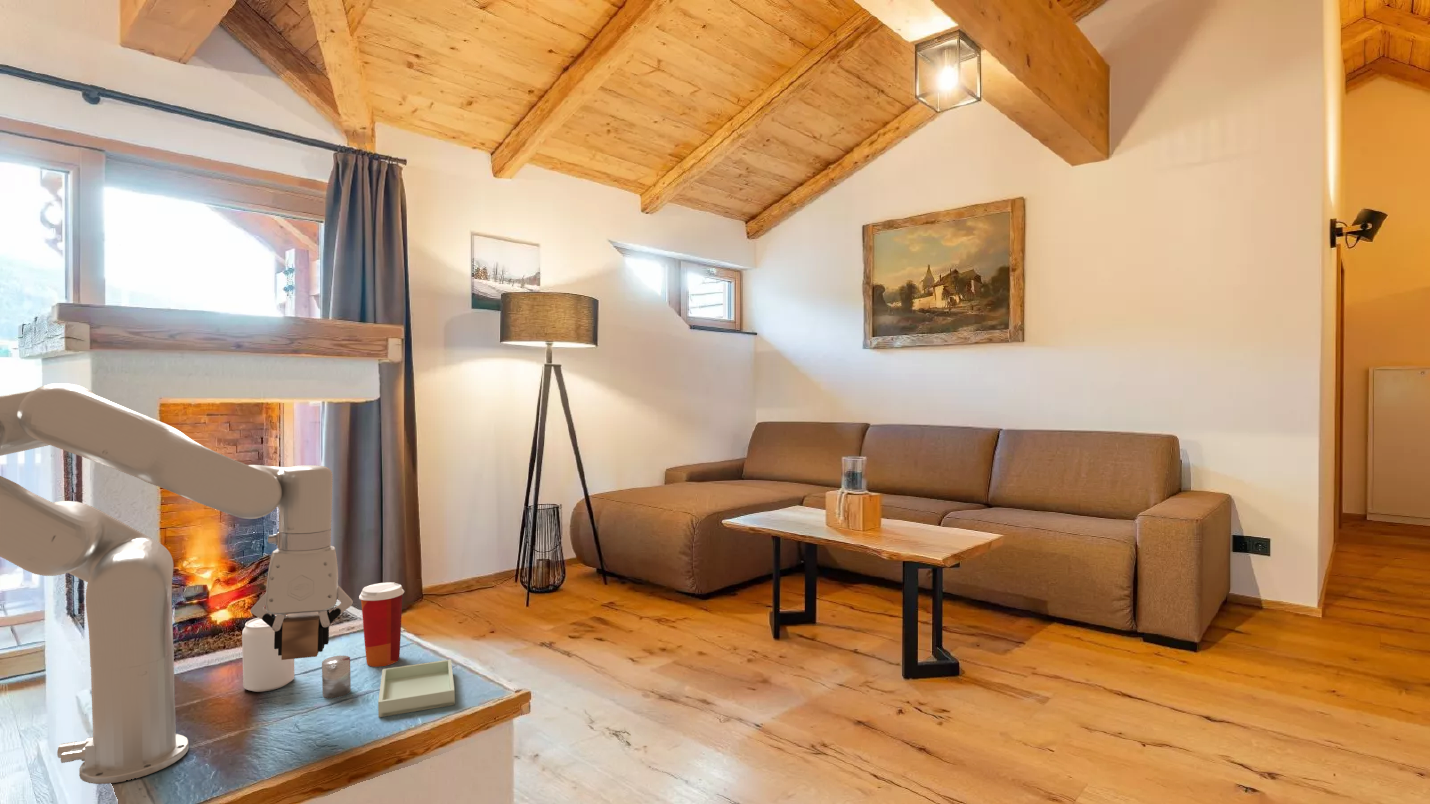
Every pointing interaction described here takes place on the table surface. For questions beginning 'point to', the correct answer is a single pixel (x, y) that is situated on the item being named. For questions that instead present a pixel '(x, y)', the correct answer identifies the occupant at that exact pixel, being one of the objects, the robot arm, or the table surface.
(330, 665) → the metal cylinder
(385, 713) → the parts tray
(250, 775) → the table surface
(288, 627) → the walnut block
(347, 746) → the table surface
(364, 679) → the table surface
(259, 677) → the beverage can
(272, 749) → the table surface
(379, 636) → the coffee cup
